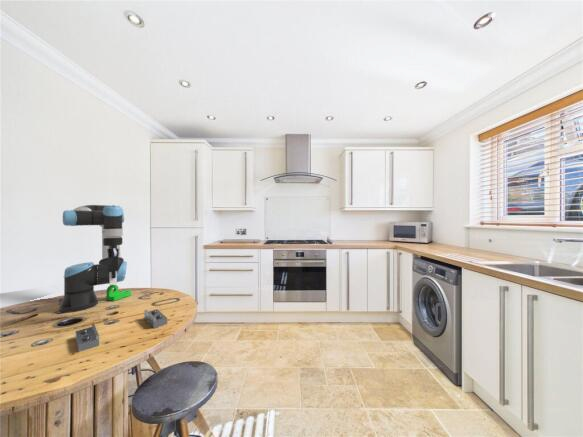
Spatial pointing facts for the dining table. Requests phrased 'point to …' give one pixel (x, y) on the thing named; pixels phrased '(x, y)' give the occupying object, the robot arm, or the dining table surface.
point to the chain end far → (155, 318)
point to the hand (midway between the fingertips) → (113, 284)
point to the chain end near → (87, 338)
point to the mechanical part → (116, 293)
